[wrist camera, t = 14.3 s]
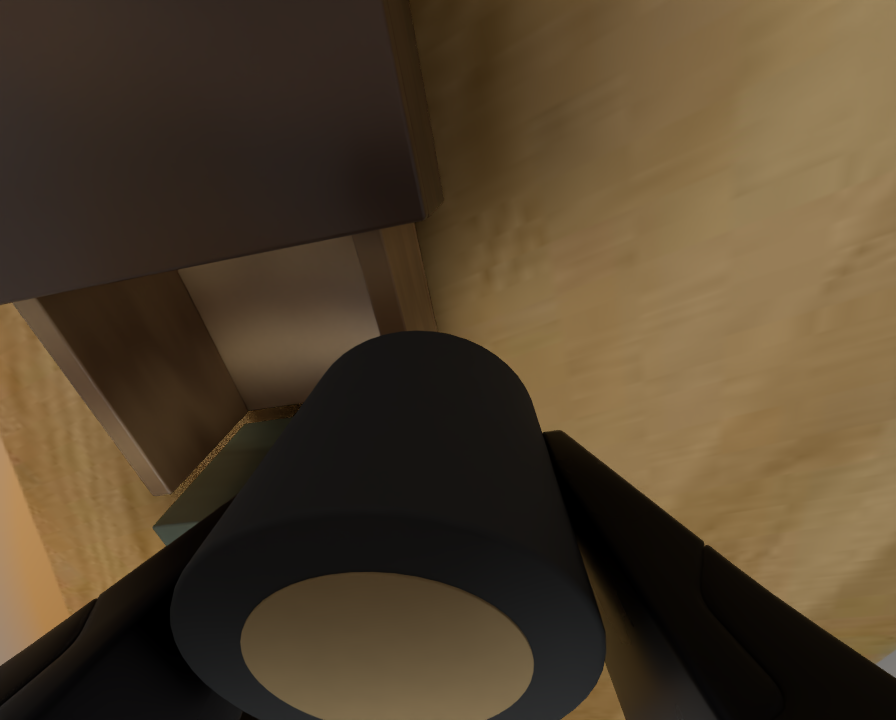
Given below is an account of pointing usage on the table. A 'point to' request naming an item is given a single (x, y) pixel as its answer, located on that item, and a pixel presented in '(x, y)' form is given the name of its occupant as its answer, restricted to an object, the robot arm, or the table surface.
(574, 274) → the table surface
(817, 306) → the table surface
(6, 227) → the cabinet
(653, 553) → the robot arm
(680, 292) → the table surface
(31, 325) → the drawer
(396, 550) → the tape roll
